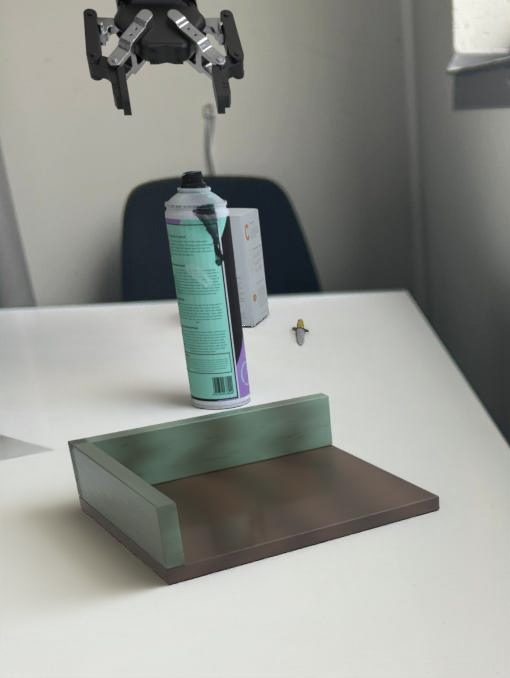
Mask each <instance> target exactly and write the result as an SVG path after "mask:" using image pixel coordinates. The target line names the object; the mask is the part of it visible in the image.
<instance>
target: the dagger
mask: <svg viewBox="0 0 510 678" xmlns="http://www.w3.org/2000/svg"><path fill="white" fill-rule="evenodd" d="M296 321H297V322H296V326H295V327H292V329H291V330H292V331H295V332H296V337H297V342H298V344H299V345H300V346H302V345H303V344H304V343H305V334H306V333H305V332H308V333H310V331H309V329H308V328H305V323H304V320H303V319H302V318H298V320H296ZM302 343H303V344H302ZM301 344H302V345H301Z"/></svg>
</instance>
